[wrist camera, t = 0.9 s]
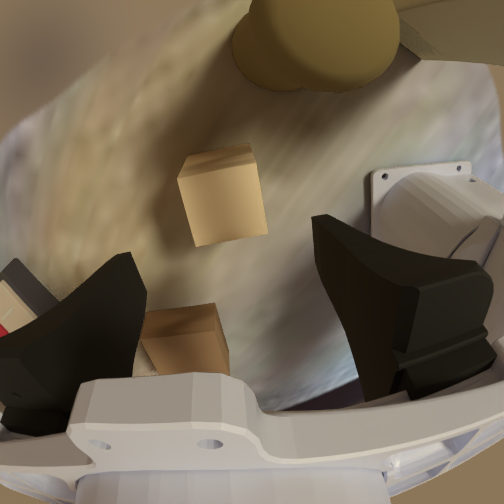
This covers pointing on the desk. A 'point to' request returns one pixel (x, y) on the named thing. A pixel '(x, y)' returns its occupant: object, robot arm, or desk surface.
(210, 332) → the walnut base
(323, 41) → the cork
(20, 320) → the calculator
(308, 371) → the desk surface
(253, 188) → the beech block
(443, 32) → the box
